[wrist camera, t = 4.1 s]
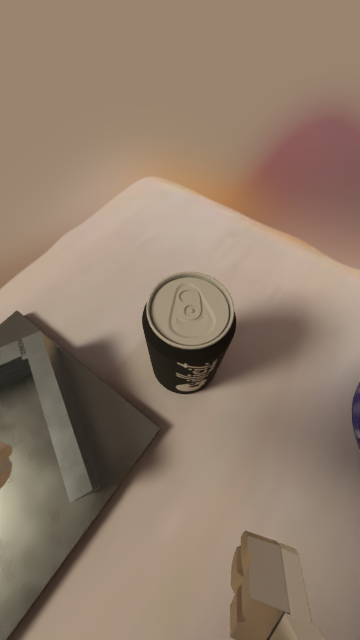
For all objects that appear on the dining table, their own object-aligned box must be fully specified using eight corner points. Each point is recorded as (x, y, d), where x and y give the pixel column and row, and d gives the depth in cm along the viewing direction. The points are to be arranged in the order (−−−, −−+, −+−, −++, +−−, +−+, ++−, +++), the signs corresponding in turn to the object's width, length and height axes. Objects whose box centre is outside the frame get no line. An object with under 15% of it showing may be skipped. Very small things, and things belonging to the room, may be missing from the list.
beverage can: (155, 399, 26) (143, 360, 15) (150, 338, 29) (136, 271, 18) (221, 391, 27) (252, 347, 16) (209, 332, 30) (229, 262, 19)
